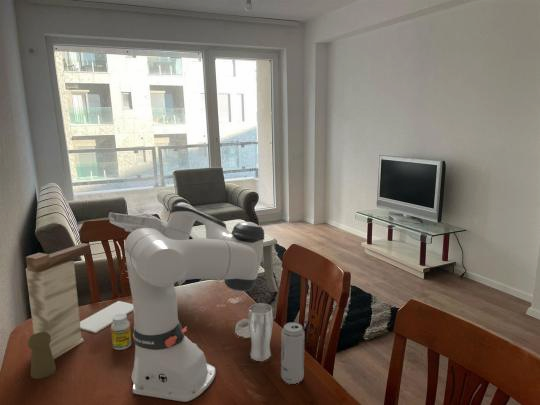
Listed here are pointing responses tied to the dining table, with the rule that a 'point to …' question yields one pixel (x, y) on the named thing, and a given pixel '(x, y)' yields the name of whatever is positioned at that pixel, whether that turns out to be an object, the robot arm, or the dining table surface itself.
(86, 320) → the mat
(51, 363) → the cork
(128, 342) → the supplement bottle
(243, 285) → the robot arm
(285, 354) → the energy drink can
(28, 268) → the mallet
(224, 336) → the dining table surface
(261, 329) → the beer glass
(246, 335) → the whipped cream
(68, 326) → the stand
